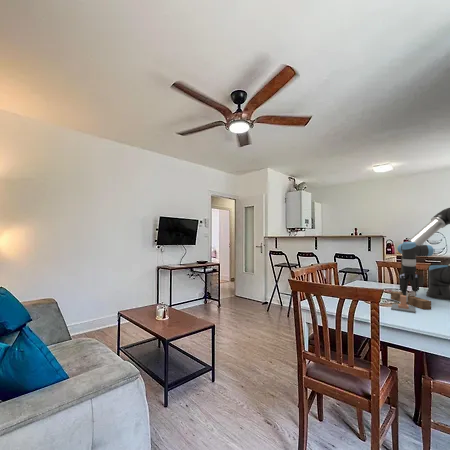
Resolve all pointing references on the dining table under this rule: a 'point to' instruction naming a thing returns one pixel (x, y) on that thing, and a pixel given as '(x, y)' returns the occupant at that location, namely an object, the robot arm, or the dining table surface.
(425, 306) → the bar
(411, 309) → the fulcrum
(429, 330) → the dining table surface
